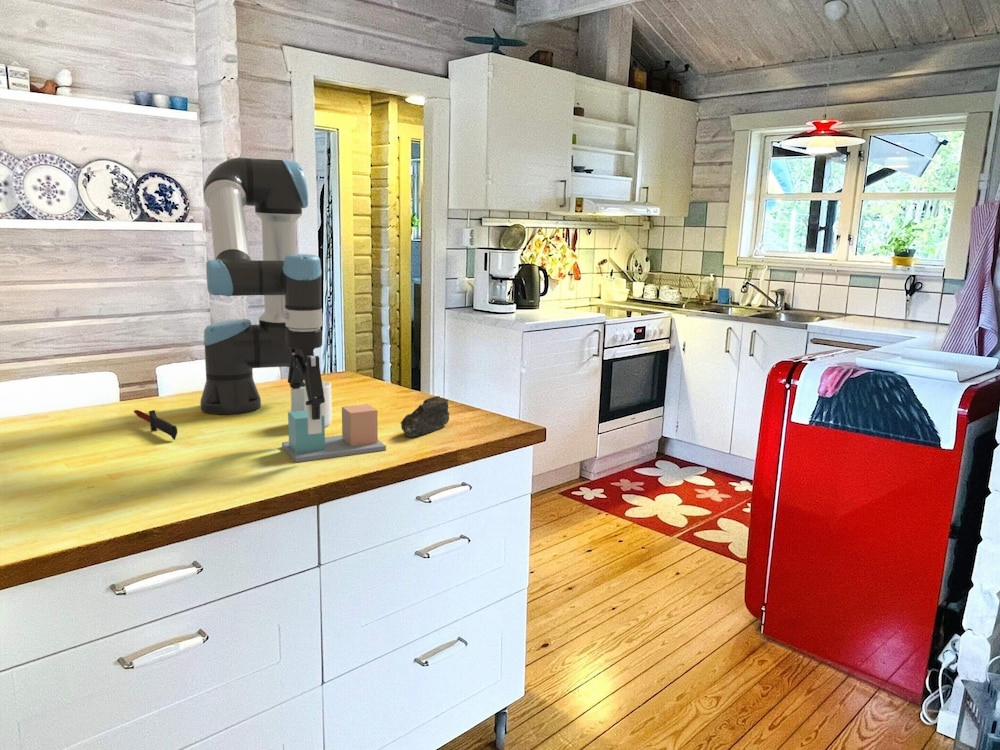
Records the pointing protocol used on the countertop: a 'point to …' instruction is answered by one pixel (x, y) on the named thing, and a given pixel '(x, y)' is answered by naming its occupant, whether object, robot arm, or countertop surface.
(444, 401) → the stone
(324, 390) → the mug
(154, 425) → the knife
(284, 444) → the grey base with blocks
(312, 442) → the teal upright block
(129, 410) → the countertop surface
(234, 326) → the robot arm
